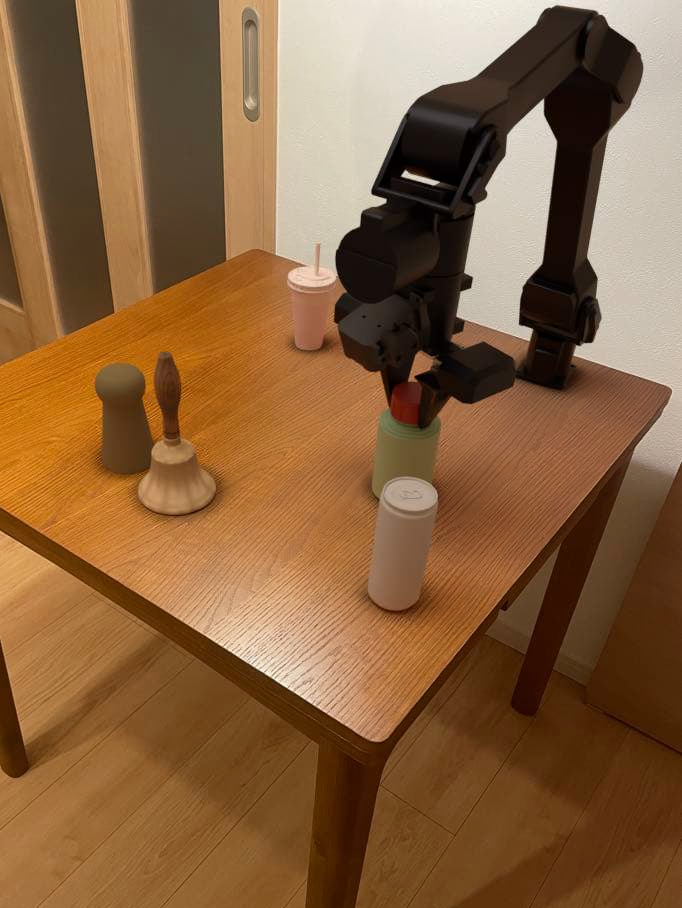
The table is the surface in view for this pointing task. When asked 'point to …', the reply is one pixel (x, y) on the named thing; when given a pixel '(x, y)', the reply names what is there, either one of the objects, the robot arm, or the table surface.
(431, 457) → the sauce bottle
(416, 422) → the bottle cap
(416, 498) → the beverage can
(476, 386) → the robot arm
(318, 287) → the smoothie
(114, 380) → the cork
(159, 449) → the hand bell
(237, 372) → the table surface
